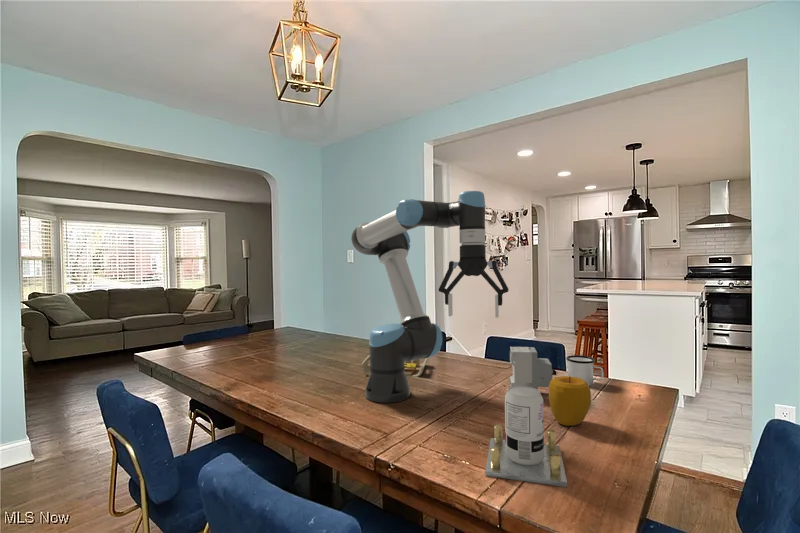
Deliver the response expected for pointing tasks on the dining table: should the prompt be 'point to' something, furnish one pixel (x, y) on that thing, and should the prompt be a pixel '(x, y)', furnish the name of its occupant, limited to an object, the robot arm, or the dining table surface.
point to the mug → (582, 368)
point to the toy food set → (410, 367)
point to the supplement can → (524, 425)
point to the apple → (569, 399)
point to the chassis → (542, 473)
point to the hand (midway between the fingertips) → (473, 316)
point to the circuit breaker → (529, 368)
